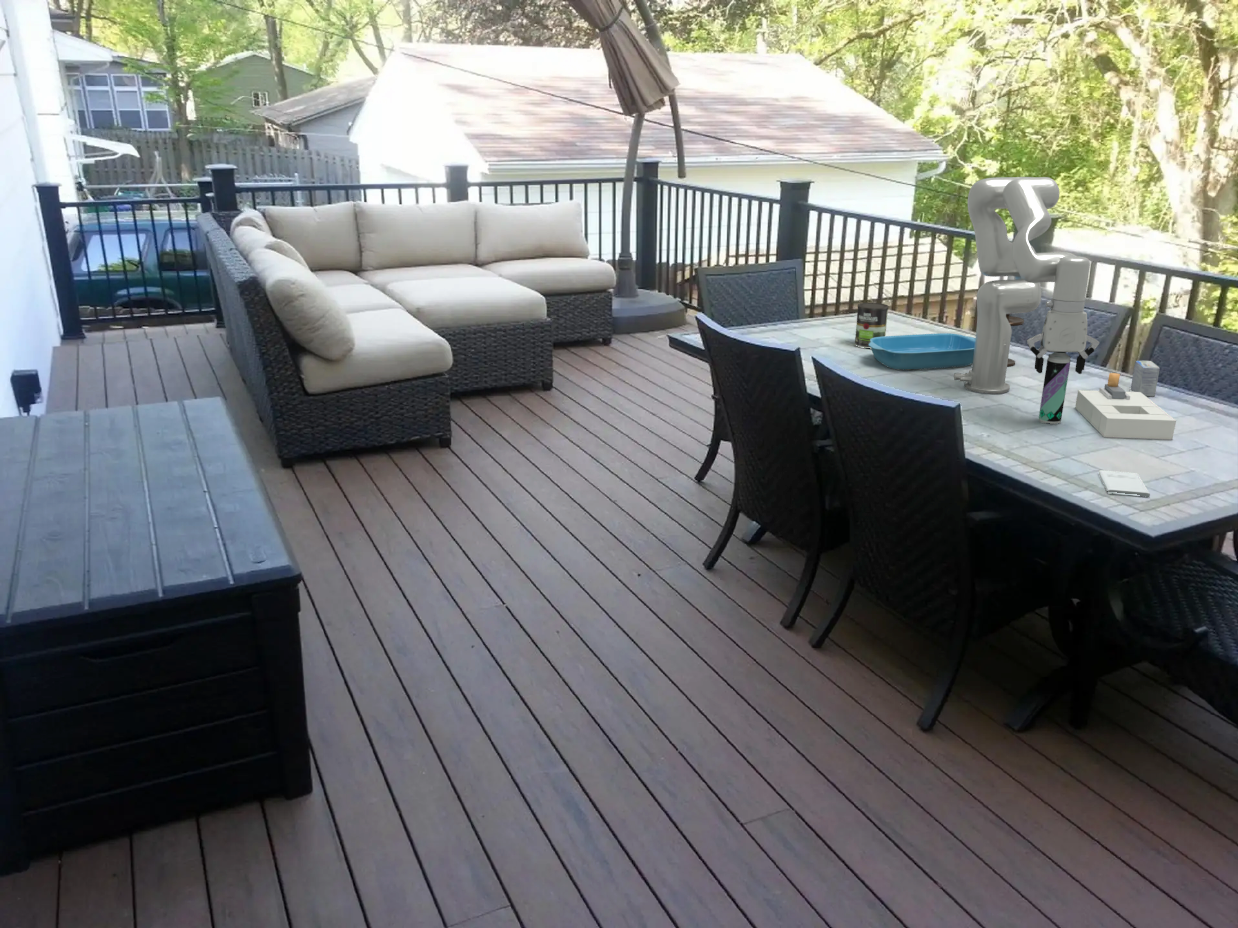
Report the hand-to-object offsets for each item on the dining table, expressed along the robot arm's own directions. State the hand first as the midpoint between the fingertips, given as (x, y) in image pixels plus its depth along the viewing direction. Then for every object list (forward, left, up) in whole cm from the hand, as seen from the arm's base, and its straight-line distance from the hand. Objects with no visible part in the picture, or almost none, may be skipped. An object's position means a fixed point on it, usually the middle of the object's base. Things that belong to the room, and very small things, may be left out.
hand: (1058, 372), depth 249 cm
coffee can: (-39, +81, -14) cm, 91 cm away
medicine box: (+33, +31, -14) cm, 47 cm away
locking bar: (+18, +10, -8) cm, 22 cm away
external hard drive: (+4, -44, -14) cm, 47 cm away
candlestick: (0, +61, -14) cm, 62 cm away
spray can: (0, +1, -14) cm, 14 cm away
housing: (+18, +1, -13) cm, 22 cm away
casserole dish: (-24, +60, -14) cm, 66 cm away
